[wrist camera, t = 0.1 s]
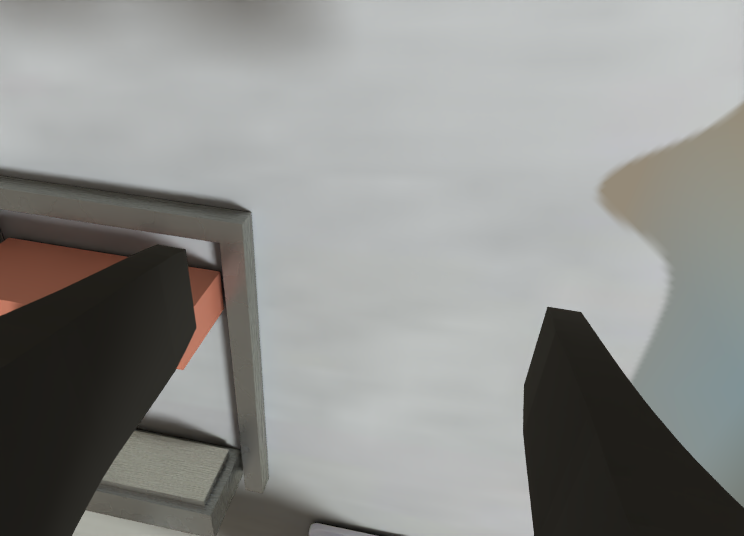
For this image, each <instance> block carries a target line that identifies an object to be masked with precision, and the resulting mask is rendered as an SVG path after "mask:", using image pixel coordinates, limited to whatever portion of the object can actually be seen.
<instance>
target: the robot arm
mask: <svg viewBox="0 0 744 536" xmlns="http://www.w3.org/2000/svg"><path fill="white" fill-rule="evenodd" d="M196 328H197V326H196V319H195V312H194V305H193V298H192V291H191V284H190V277H189V270H188V263H187V256H186V249H180V248H174V247H168V246H162V245H156V246H153V247H151V248H148V249H146V250H143V251H141V252H139V253H136V254H134V255H132V256H130V257H128V258H126V259H123V260H121V261H119V262H117V263H115V264H113V265H111V266H109V267H107V268H105V269H103V270H101V271H99V272H96V273H94V274H92V275H90V276H88V277H86V278H84V279H82V280H80V281H78V282H75V283H73V284H71V285H69V286H67V287H65V288H63V289H61V290H59V291H56V292H54V293H52V294H49V295H47V296H45V297H43V298H40V299H38V300H36V301H33V302H31V303H29V304H27V305H24V306H22V307H20V308H17V309H15V310H13V311H11V312H8V313H6V314H3V315H1V316H0V536H72V534H73V532H74V530H75V528H76V526H77V524H78V523H79V521H80V519H81V517H82V515H83V513H84V512H85V510H86V508H87V506H88V504H89V502H90V501H91V499H92V497H93V495H94V493H95V492H96V490H97V488H98V486H99V484H100V482H101V481H102V479H103V477H104V476H105V474H106V472H107V471H108V469H109V468H110V466H111V464H112V463H113V461H114V460H115V458H116V457H117V455H118V454H119V452H120V451H121V449H122V448H123V446H124V445H125V443H126V442H127V441H128V439H129V438H130V436H131V435H132V433H133V432H134V430H135V429H136V428H137V426H138V425H139V423H140V422H141V420H142V419H143V417H144V416H145V414H146V413H147V412H148V410H149V409H150V407H151V406H152V404H153V403H154V401H155V400H156V399H157V397H158V396H159V394H160V393H161V391H162V390H163V388H164V387H165V385H166V384H167V382H168V381H169V379H170V378H171V376H172V375H173V373H174V372H175V370H176V369H177V367H178V365H179V363H180V361H181V359H182V357H183V355H184V353H185V351H186V349H187V347H188V345H189V343H190V341H191V339H192V336H193V334H194V332H195V330H196ZM523 436H524V446H525V455H526V465H527V474H528V483H529V492H530V501H531V510H532V519H533V529H534V536H744V508H743V507H742V506H741V505H740V504H739V503H738V502H737V501H736V500H735V499H734V498H733V497H732V496H731V495H730V494H729V493H728V492H727V491H726V490H724V488H723V487H721V485H720V484H719V483H718V482H717V481H716V480H715V479H714V478H713V477H712V476H711V475H710V474H709V473H708V472H707V471H706V470H705V469H704V468H703V467H702V466H701V465H700V464H699V463H698V462H697V461H696V460H695V459H694V458H693V457H692V455H691V454H690V453H689V452H688V451H687V450H686V449H685V448H684V447H683V446H682V445H681V443H680V442H679V441H678V440H677V439H676V438H675V437H674V435H673V434H672V433H671V432H670V431H669V429H668V428H667V427H666V426H665V425H664V424H663V423H662V421H661V420H660V419H659V418H658V417H657V415H656V414H655V413H654V412H653V411H652V409H651V408H650V407H649V406H648V404H647V403H646V402H645V401H644V400H643V398H642V397H641V395H640V394H639V393H638V391H637V390H636V389H635V387H634V386H633V385H632V383H631V382H630V381H629V380H628V378H627V377H626V376H625V374H624V373H623V371H622V370H621V369H620V367H619V366H618V364H617V363H616V362H615V360H614V359H613V357H612V356H611V355H610V353H609V352H608V350H607V349H606V347H605V346H604V344H603V343H602V342H601V340H600V339H599V337H598V336H597V334H596V333H595V331H594V330H593V328H592V327H591V326H590V324H589V323H588V321H587V320H586V318H585V317H584V316H583V314H582V313H581V312H577V311H571V310H564V309H558V308H552V307H547V311H546V314H545V317H544V321H543V324H542V327H541V331H540V334H539V337H538V341H537V344H536V347H535V351H534V354H533V357H532V361H531V364H530V367H529V371H528V374H527V377H526V381H525V384H524V409H523ZM309 536H377V535H372V534H367V533H362V532H358V531H353V530H348V529H344V528H339V527H334V526H329V525H325V524H320V523H313V524H312V525H311V526H310V529H309Z"/></svg>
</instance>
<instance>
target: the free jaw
mask: <svg viewBox="0 0 744 536" xmlns="http://www.w3.org/2000/svg"><path fill="white" fill-rule="evenodd" d="M126 258H128V257H126V256H120V255H113V254H107V253H101V252H95V251H88V250H82V249H76V248H70V247H64V246H57V245H51V244H45V243H39V242H32V241H26V240H20V239H14V238H8V239H6V240H5V241H3V242H2V243H0V316H1V315H3V314H6V313H8V312H11V311H13V310H15V309H17V308H20V307H22V306H24V305H27V304H29V303H31V302H33V301H36V300H38V299H40V298H43V297H45V296H47V295H49V294H52V293H54V292H56V291H59V290H61V289H63V288H65V287H67V286H69V285H71V284H73V283H75V282H78V281H80V280H82V279H84V278H86V277H88V276H90V275H92V274H94V273H96V272H99V271H101V270H103V269H105V268H107V267H109V266H111V265H113V264H115V263H117V262H119V261H121V260H123V259H126ZM188 270H189V277H190V284H191V291H192V298H193V305H194V312H195V319H196V326H197V328H196V330H195V332H194V334H193V336H192V339H191V341H190V343H189V345H188V347H187V349H186V351H185V353H184V355H183V357H182V359H181V361H180V363H179V365H178V367H177V369H181V370H183V369H184V368H185V366H186V365H187V363H188V362H189V360H190V359H191V357H192V356H193V354H194V353H195V351H196V350H197V348H198V347H199V345H200V344H201V343H202V341H203V340H204V338H205V337H206V335H207V334H208V332H209V331H210V329H211V328H212V326H213V325H214V323H215V322H216V320H217V319H218V317H219V316H220V314H221V313H222V311H223V310H224V302H223V293H222V284H221V274H220V272H219V271H213V270H207V269H200V268H194V267H188Z"/></svg>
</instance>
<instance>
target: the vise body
mask: <svg viewBox="0 0 744 536" xmlns="http://www.w3.org/2000/svg"><path fill="white" fill-rule="evenodd" d="M0 209H4V210H10V211H17V212H23V213H30V214H36V215H43V216H49V217H56V218H62V219H68V220H75V221H81V222H88V223H94V224H101V225H107V226H114V227H120V228H127V229H133V230H140V231H146V232H153V233H159V234H166V235H172V236H179V237H185V238H192V239H198V240H205V241H211V242H218V243H220V252H221V262H222V271H223V281H224V290H225V300H226V309H227V319H228V328H229V338H230V348H231V357H232V367H233V376H234V386H235V395H236V405H237V414H238V424H239V433H240V443H241V450H238V449H233V448H228V447H223V446H218V445H213V444H208V443H203V442H198V441H193V440H188V439H183V438H178V437H173V436H168V435H163V434H158V433H153V432H148V431H143V430H138V429H135V430H134V432H133V433H132V435H131V436H130V438H129V439H128V441H127V442H126V443H125V445H124V446H123V448H122V449H121V451H120V452H119V454H118V455H117V457H116V458H115V460H114V461H113V463H112V464H111V466H110V468H109V469H108V471H107V472H106V474H105V476H104V477H103V479H102V481H101V482H100V484H99V486H98V488H97V490H96V492H95V493H94V495H93V497H92V499H91V501H90V502H89V504H88V506H87V508H86V510H87V511H92V512H96V513H101V514H105V515H110V516H114V517H119V518H123V519H128V520H133V521H137V522H142V523H146V524H151V525H155V526H160V527H164V528H169V529H173V530H178V531H182V532H187V533H192V534H196V535H201V536H216V534H217V532H218V529H219V527H220V525H221V523H222V520H223V518H224V516H225V514H226V511H227V509H228V507H229V504H230V502H231V500H232V498H233V495H234V493H235V491H236V489H237V486H238V484H239V482H240V480H241V477H242V475H243V472H244V481H245V490H249V491H254V492H258V493H263V491H264V489H265V486H266V484H267V481H268V479H269V474H268V459H267V443H266V428H265V413H264V398H263V382H262V367H261V352H260V337H259V322H258V306H257V291H256V276H255V261H254V245H253V230H252V215H251V212H245V211H238V210H231V209H225V208H218V207H211V206H204V205H197V204H190V203H184V202H177V201H170V200H163V199H156V198H149V197H143V196H136V195H129V194H122V193H115V192H108V191H102V190H95V189H88V188H81V187H74V186H68V185H61V184H54V183H47V182H40V181H33V180H27V179H20V178H13V177H6V176H0ZM3 241H4V238H3V236H2V233H1V230H0V243H2V242H3ZM241 453H242V454H241ZM242 462H243V464H242Z"/></svg>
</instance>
